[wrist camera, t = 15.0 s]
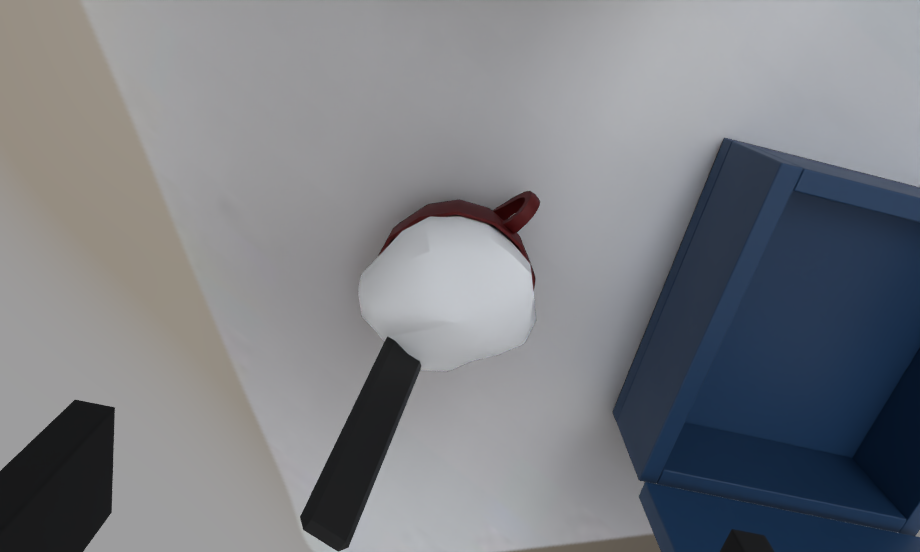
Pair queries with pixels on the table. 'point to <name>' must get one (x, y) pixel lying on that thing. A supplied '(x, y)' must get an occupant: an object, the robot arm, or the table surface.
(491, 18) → the table surface
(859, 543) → the lunchbox lid
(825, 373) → the box
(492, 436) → the table surface
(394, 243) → the cocoa
